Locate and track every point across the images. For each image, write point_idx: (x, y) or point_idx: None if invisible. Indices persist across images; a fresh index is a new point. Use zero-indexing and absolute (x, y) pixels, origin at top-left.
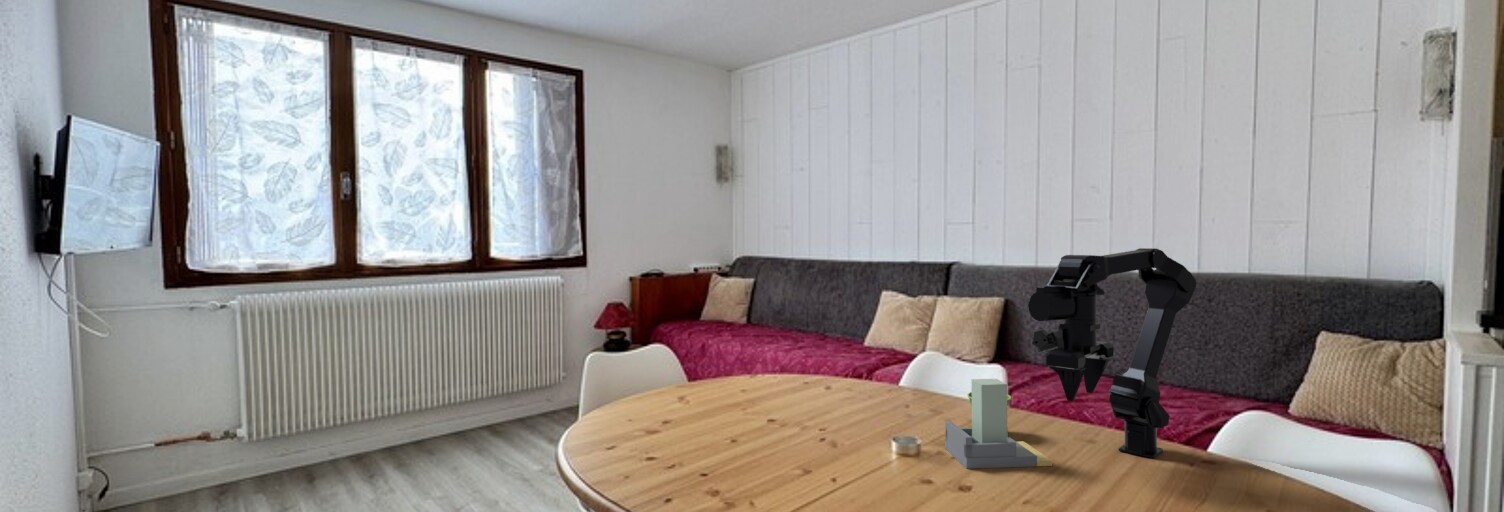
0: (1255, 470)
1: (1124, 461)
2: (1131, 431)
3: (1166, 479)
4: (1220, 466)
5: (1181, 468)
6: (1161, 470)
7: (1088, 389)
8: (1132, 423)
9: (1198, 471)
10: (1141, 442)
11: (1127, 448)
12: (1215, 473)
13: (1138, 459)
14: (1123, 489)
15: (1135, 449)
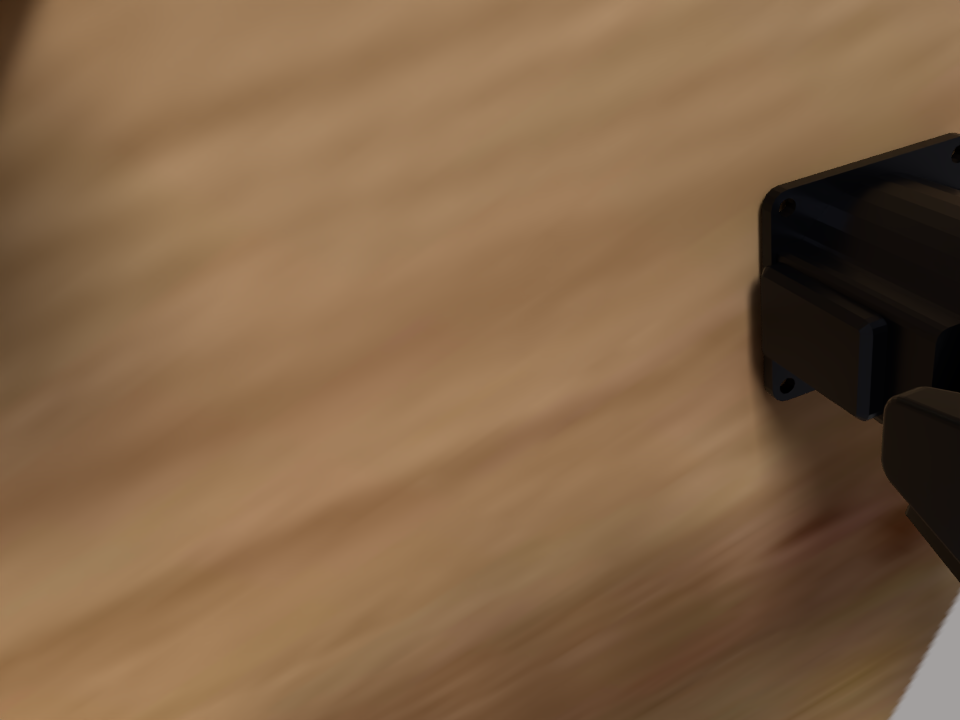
0: (908, 664)
1: (586, 347)
2: (871, 355)
3: (471, 643)
4: (870, 589)
5: (711, 552)
6: (597, 540)
7: (932, 455)
8: (954, 364)
9: (725, 607)
10: (815, 389)
11: (773, 274)
12: (752, 646)
13: (693, 360)
14: (63, 694)
15: (774, 328)
